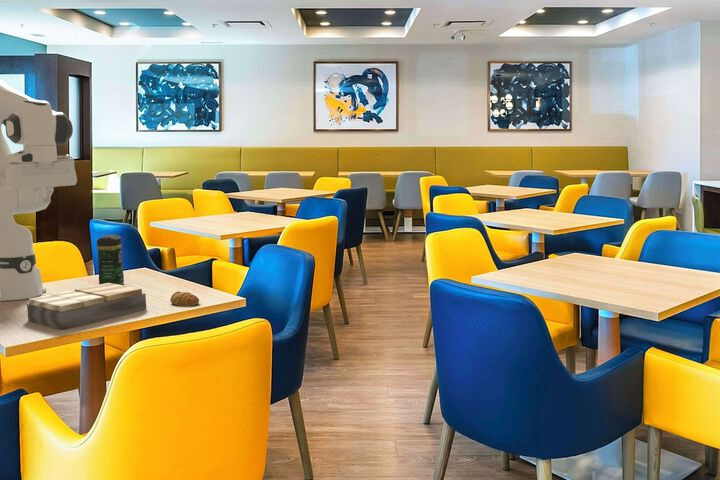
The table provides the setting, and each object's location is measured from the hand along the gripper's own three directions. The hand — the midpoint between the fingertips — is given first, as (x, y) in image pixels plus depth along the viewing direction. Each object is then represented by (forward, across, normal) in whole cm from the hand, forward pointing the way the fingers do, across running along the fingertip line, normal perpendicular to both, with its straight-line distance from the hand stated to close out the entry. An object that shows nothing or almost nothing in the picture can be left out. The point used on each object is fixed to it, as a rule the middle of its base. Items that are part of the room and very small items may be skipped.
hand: (44, 202), depth 204 cm
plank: (+29, -13, +9) cm, 33 cm away
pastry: (+35, -32, +22) cm, 52 cm away
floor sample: (+34, -6, +9) cm, 36 cm away
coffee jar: (+34, -36, -23) cm, 55 cm away
